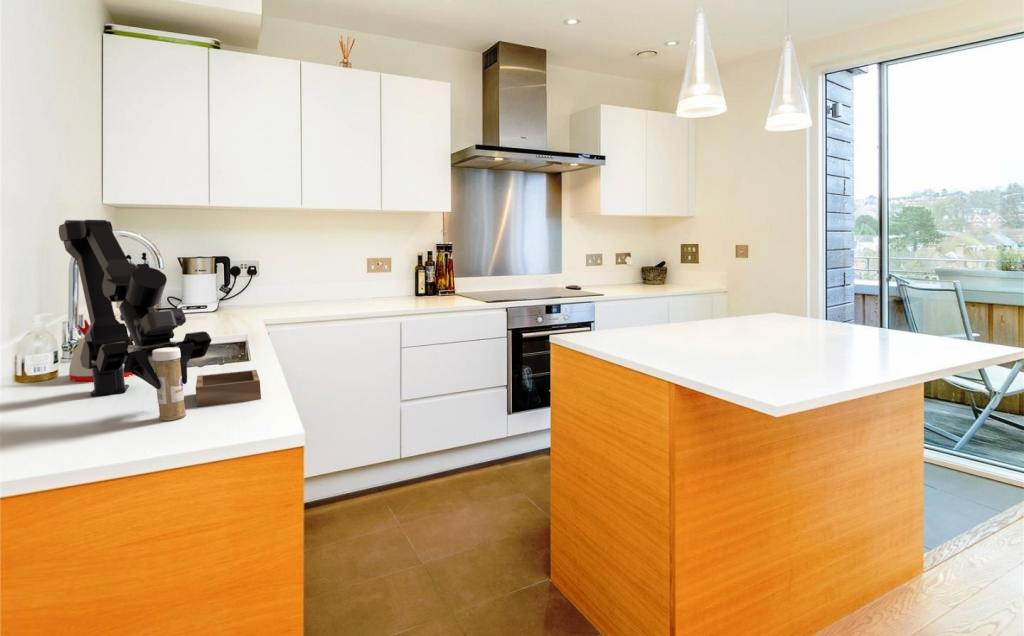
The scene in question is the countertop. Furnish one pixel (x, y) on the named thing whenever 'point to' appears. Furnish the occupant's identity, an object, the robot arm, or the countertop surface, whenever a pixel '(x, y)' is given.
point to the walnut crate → (227, 388)
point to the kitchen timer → (76, 369)
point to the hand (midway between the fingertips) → (172, 385)
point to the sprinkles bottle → (169, 383)
